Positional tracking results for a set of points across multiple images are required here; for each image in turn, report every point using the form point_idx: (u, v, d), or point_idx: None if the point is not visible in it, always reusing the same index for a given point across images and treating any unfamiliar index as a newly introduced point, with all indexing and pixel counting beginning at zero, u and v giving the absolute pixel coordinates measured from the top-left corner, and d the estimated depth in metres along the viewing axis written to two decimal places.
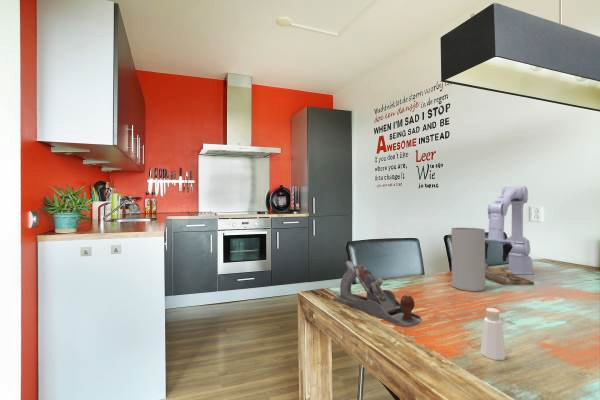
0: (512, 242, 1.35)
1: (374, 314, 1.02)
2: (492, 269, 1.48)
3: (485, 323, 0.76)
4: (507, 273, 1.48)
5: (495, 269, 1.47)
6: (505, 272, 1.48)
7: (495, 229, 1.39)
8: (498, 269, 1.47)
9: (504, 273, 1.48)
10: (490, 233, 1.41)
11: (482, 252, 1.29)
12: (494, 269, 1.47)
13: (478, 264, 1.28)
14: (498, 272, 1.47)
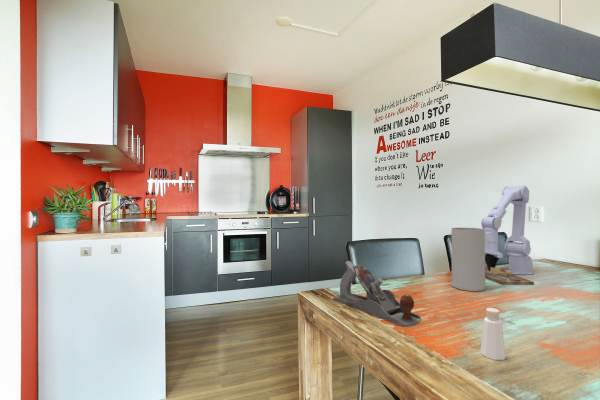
0: (497, 255, 1.44)
1: (374, 314, 1.03)
2: (492, 269, 1.48)
3: (485, 323, 0.76)
4: (507, 273, 1.47)
5: (495, 269, 1.47)
6: (505, 272, 1.48)
7: (486, 242, 1.50)
8: (498, 269, 1.47)
9: (504, 273, 1.47)
10: None
11: (482, 252, 1.29)
12: (495, 269, 1.47)
13: (478, 264, 1.28)
14: (498, 272, 1.47)
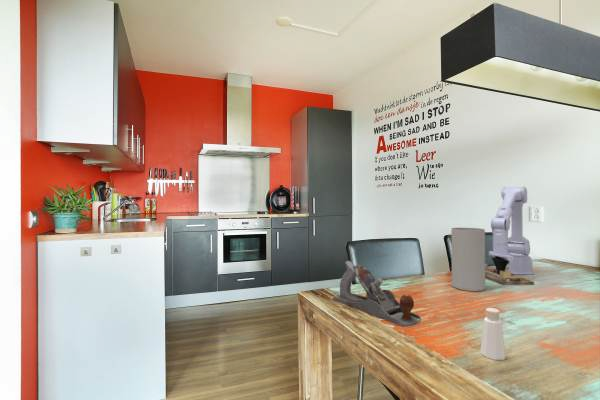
0: (508, 258, 1.37)
1: (374, 314, 1.03)
2: (502, 273, 1.41)
3: (485, 323, 0.76)
4: (518, 277, 1.40)
5: (505, 273, 1.40)
6: (515, 276, 1.41)
7: (495, 244, 1.43)
8: (508, 273, 1.40)
9: (514, 277, 1.40)
10: (493, 248, 1.45)
11: (482, 252, 1.29)
12: (504, 272, 1.40)
13: (478, 264, 1.28)
14: (508, 276, 1.40)
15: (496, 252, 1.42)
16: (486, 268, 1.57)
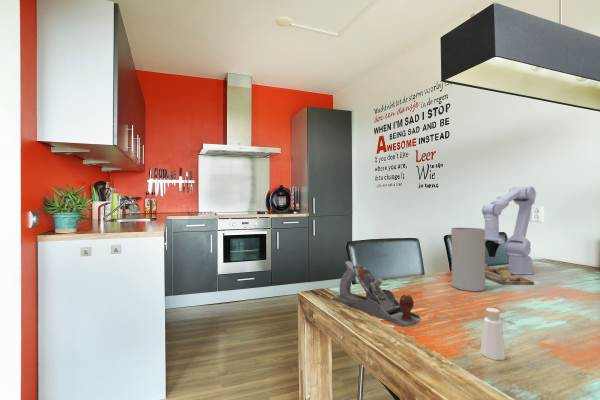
0: (498, 241, 1.46)
1: (373, 313, 1.03)
2: (502, 273, 1.41)
3: (485, 323, 0.76)
4: (518, 277, 1.40)
5: (505, 273, 1.40)
6: (515, 276, 1.41)
7: (486, 229, 1.52)
8: (508, 273, 1.40)
9: (514, 277, 1.40)
10: (485, 232, 1.54)
11: (482, 252, 1.29)
12: (504, 272, 1.40)
13: (478, 264, 1.28)
14: (508, 276, 1.40)
15: (488, 236, 1.51)
16: (486, 268, 1.57)
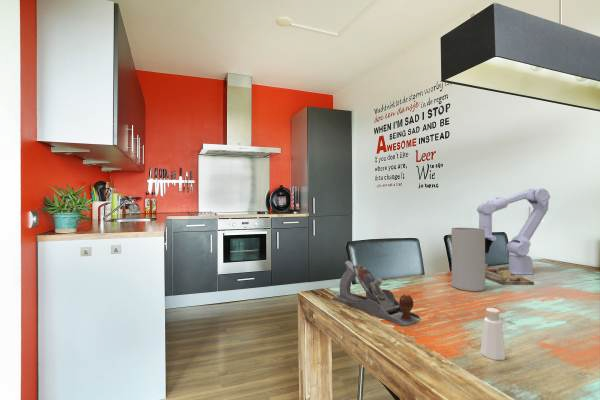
0: (491, 238, 1.56)
1: (373, 313, 1.03)
2: (502, 273, 1.41)
3: (485, 323, 0.76)
4: (518, 277, 1.40)
5: (505, 273, 1.40)
6: (515, 276, 1.41)
7: (480, 227, 1.62)
8: (508, 273, 1.40)
9: (514, 277, 1.40)
10: None
11: (482, 252, 1.29)
12: (504, 272, 1.40)
13: (478, 264, 1.28)
14: (508, 276, 1.40)
15: None
16: (486, 268, 1.57)
